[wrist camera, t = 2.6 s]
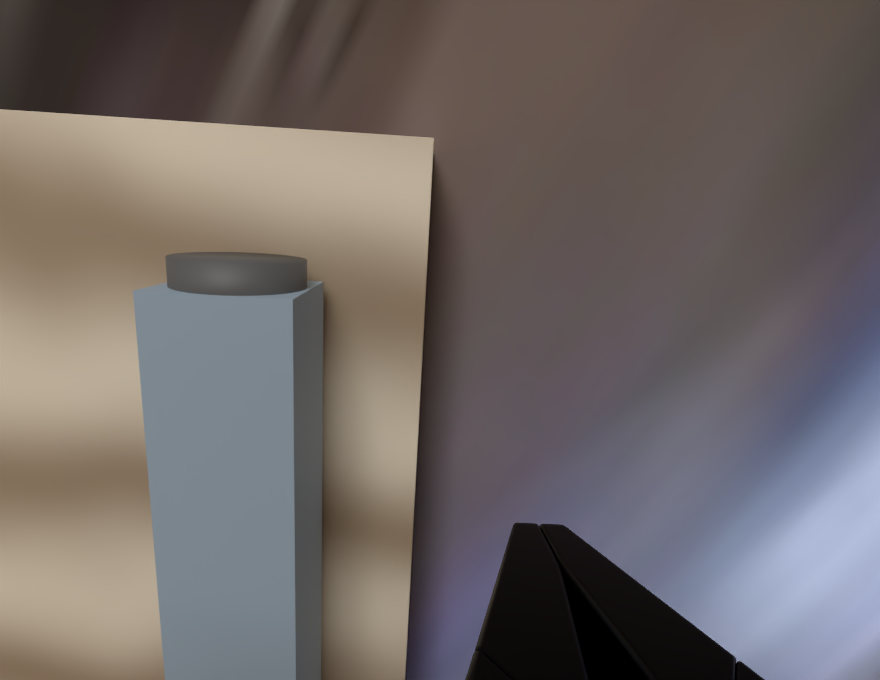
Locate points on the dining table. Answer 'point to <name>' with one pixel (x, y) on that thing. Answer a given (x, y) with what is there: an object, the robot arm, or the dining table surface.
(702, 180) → the dining table surface
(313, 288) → the hinged leg
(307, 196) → the stool seat
